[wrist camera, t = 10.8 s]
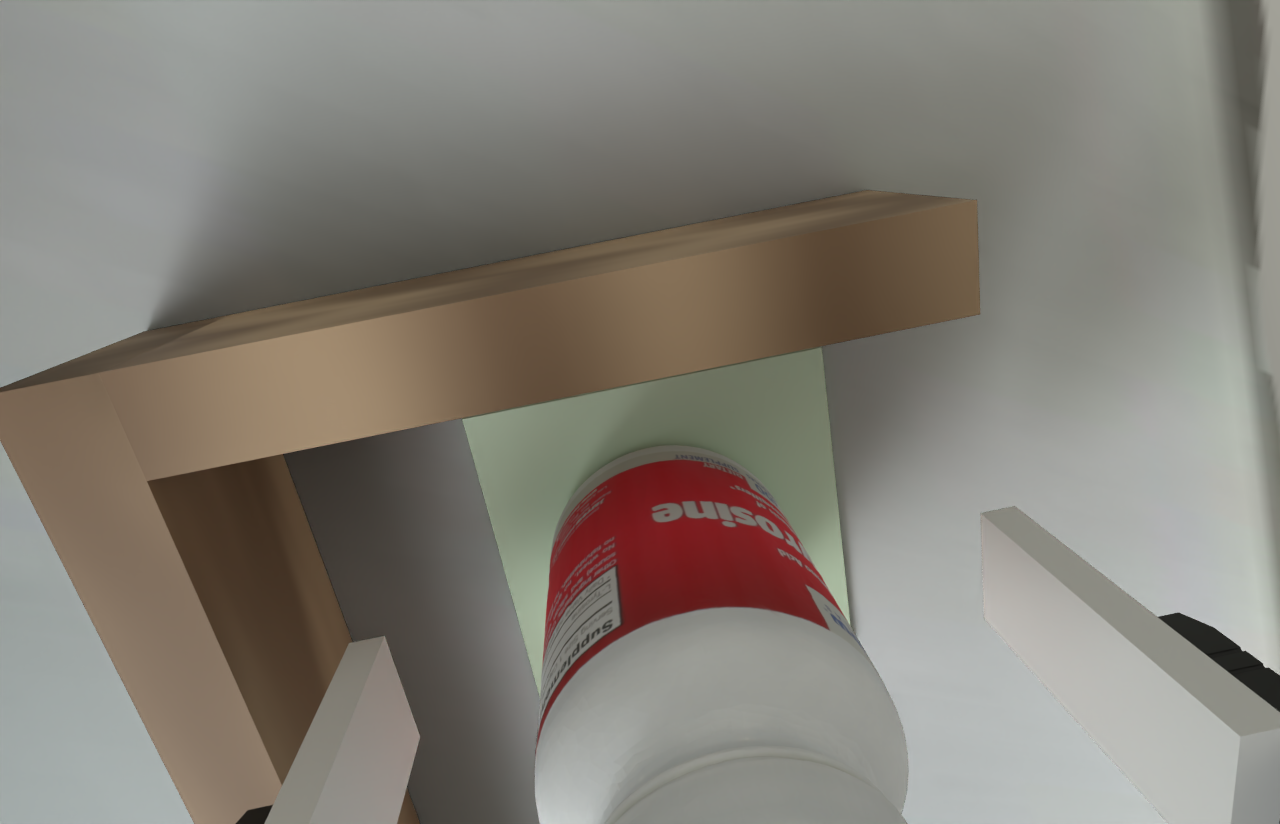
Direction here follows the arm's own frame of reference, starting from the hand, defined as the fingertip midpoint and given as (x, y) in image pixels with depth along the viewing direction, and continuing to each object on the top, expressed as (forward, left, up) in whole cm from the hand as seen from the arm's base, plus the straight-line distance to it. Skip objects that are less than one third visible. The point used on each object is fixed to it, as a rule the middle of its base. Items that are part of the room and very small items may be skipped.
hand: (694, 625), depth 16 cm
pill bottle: (0, 0, -4) cm, 4 cm away
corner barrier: (-3, -3, -4) cm, 6 cm away
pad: (0, 0, -4) cm, 4 cm away
